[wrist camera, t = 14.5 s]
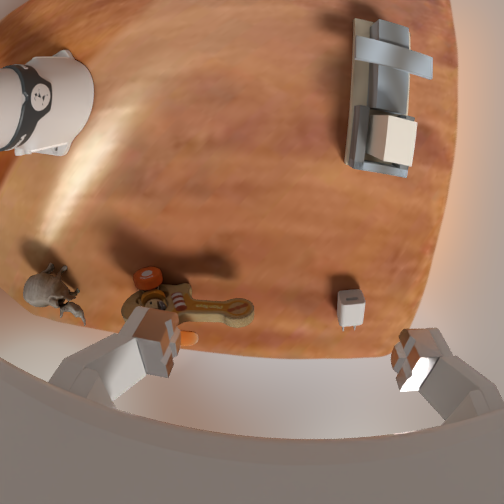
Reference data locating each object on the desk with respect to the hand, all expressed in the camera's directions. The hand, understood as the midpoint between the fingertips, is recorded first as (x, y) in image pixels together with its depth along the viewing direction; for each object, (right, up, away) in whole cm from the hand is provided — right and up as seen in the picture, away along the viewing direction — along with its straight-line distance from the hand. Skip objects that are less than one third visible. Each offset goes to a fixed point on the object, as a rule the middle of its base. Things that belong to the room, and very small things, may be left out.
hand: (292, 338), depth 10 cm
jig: (+15, +23, +22) cm, 35 cm away
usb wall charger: (+15, -6, +37) cm, 40 cm away
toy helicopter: (-12, -3, +38) cm, 40 cm away
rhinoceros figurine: (-40, -3, +41) cm, 57 cm away
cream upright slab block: (+15, +18, +23) cm, 33 cm away
